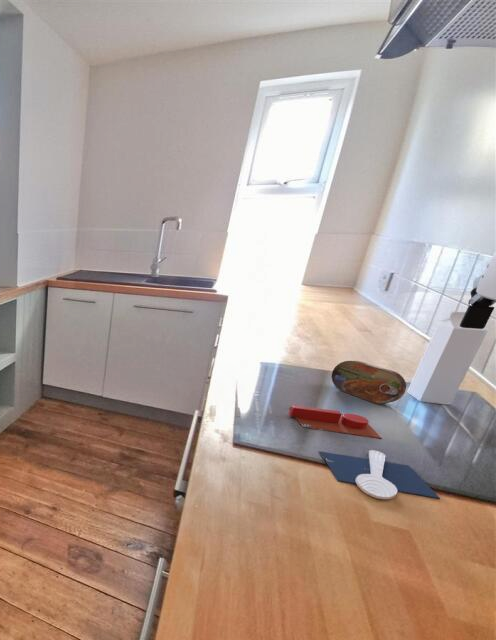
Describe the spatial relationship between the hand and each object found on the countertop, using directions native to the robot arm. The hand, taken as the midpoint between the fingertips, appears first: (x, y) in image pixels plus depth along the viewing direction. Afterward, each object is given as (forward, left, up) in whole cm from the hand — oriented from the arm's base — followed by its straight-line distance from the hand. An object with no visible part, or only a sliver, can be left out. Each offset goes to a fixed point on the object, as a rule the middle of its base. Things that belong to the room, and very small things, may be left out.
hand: (489, 335), depth 71 cm
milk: (-14, -32, -24) cm, 43 cm away
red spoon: (+14, -9, -24) cm, 29 cm away
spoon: (+13, +12, -24) cm, 30 cm away
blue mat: (+13, +12, -24) cm, 30 cm away
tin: (+1, -28, -24) cm, 37 cm away
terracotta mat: (+13, -9, -24) cm, 29 cm away
